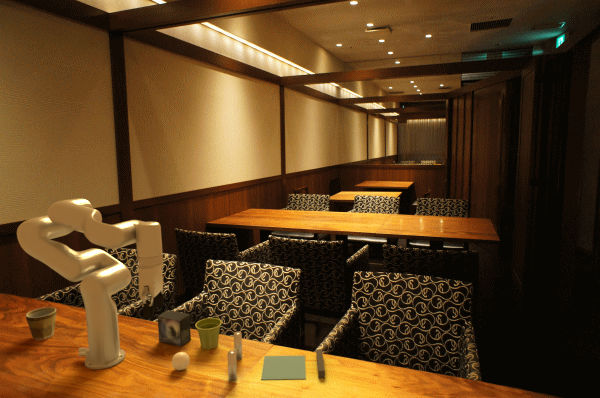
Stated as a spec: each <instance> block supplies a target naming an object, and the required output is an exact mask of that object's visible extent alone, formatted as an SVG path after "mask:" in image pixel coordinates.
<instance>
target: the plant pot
mask: <svg viewBox="0 0 600 398" xmlns="http://www.w3.org/2000/svg"><path fill="white" fill-rule="evenodd" d="M222 323H223V321H222V320H221V319H219V318H217V317H207V318H203V319H201V320H198V321H197V322H196V323H195V325H194V326H195V328H196V330H197V333H198V337H199V343H200V346H201V348H202V349H203V350H211V349H215V348H216V347H218V346H219V340H220V339H219V338H220V328H221V326H222Z"/></svg>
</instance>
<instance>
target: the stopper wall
mask: <svg viewBox="0 0 600 398" xmlns="http://www.w3.org/2000/svg"><path fill="white" fill-rule="evenodd" d="M315 353H316V354H315V355H316V358H315V359H316V365H317V376H318V379H325V378H326V375H325V373H326V369H325V361H324V353H323V350H322V349H316V352H315Z"/></svg>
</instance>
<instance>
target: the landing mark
mask: <svg viewBox="0 0 600 398" xmlns="http://www.w3.org/2000/svg"><path fill="white" fill-rule="evenodd" d="M261 371H262V372H261V376H260V377H261V379H260V381H271V380H272V381H274V380H275V381H276V380H281V381H282V380H283V379H288V380H307V373H306V355H265V356H264V358H263V363H262V370H261ZM283 381H284V380H283Z"/></svg>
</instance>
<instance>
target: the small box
mask: <svg viewBox="0 0 600 398" xmlns="http://www.w3.org/2000/svg"><path fill="white" fill-rule="evenodd" d="M157 327H158V328H157V329H158V331H157V332H158V342H159V343H162V344H167V345H172V346H176V347H179V346H180V348H182V347H183V346H185V345H186V344H187V343H188V341H189V342H190V341H191V340H192V338H191V337H192V336H191V316H190V313H185V312H180V311H176V310H175V311H174V310H170V309H168V310H166V311H164V312H162V313H161V314H159V315H158V316H157ZM181 346H182V347H181Z"/></svg>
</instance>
